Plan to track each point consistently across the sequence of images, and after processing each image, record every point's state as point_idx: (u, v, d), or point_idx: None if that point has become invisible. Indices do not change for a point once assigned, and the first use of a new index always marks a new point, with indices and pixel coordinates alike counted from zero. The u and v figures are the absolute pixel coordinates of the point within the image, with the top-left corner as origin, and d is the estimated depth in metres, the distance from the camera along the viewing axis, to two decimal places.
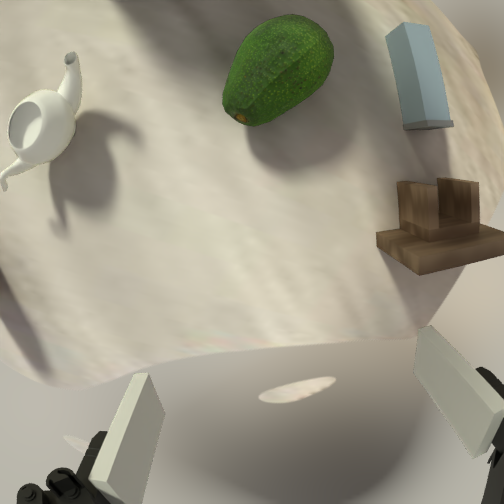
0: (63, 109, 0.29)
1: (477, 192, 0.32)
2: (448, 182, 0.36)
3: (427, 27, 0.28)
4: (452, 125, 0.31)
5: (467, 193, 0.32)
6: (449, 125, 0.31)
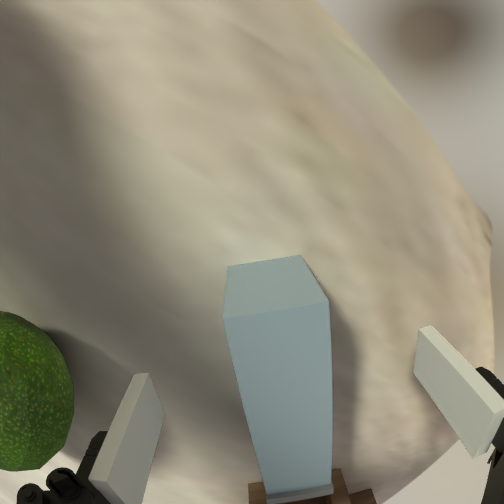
0: None
1: None
2: (330, 497, 0.21)
3: (321, 309, 0.12)
4: (330, 493, 0.15)
5: None
6: (322, 495, 0.15)
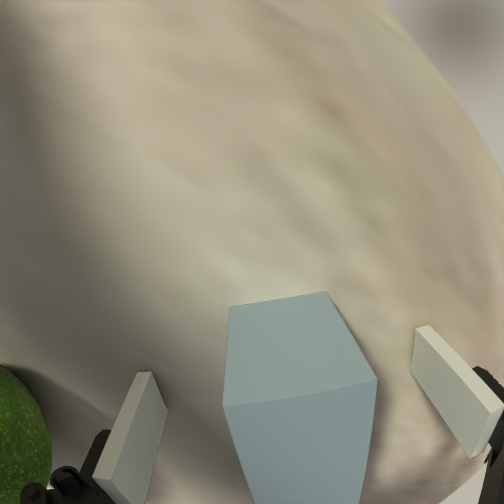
0: None
1: None
2: None
3: (365, 390, 0.07)
4: None
5: None
6: None
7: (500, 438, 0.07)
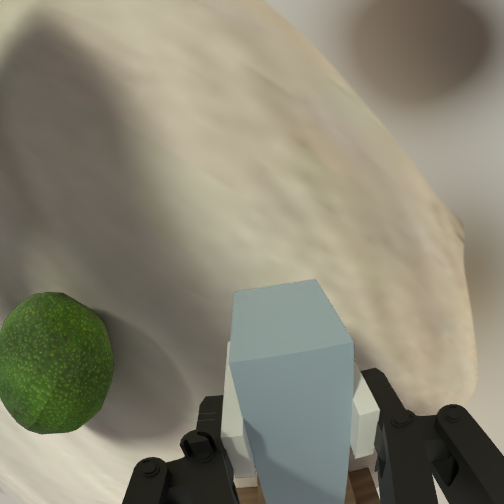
0: None
1: None
2: None
3: (344, 351, 0.10)
4: None
5: None
6: None
7: (382, 448, 0.09)
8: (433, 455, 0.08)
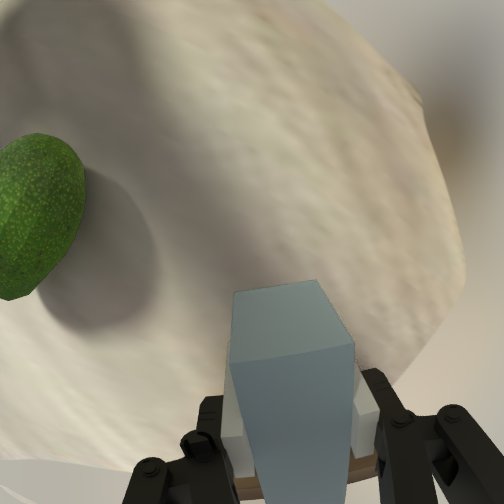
0: None
1: None
2: None
3: (345, 352, 0.10)
4: None
5: None
6: None
7: (382, 448, 0.09)
8: (433, 455, 0.08)
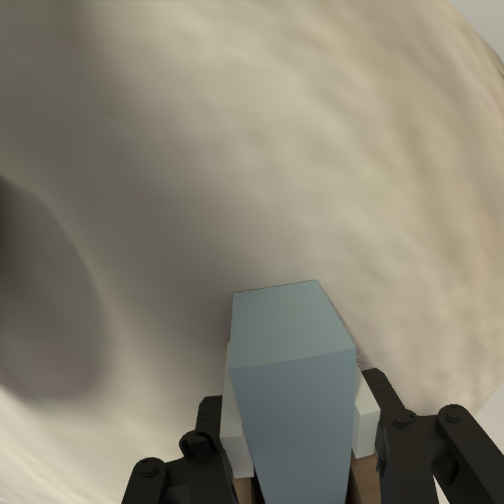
0: None
1: None
2: None
3: (347, 357, 0.09)
4: None
5: None
6: None
7: (383, 448, 0.09)
8: (433, 455, 0.08)
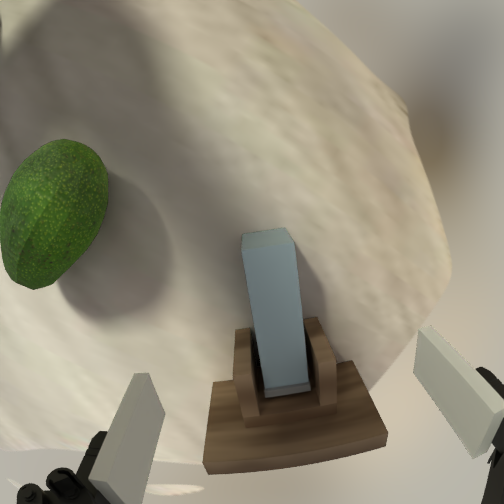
0: None
1: (332, 372, 0.25)
2: (308, 336, 0.29)
3: (290, 246, 0.24)
4: (308, 389, 0.27)
5: (317, 371, 0.26)
6: (302, 390, 0.27)
7: None
8: None
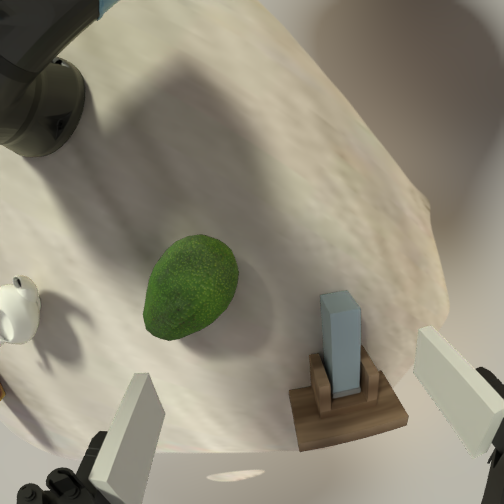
0: (25, 312, 0.36)
1: (376, 380, 0.39)
2: None
3: (358, 310, 0.38)
4: (359, 391, 0.41)
5: (366, 380, 0.40)
6: (355, 392, 0.41)
7: None
8: None
